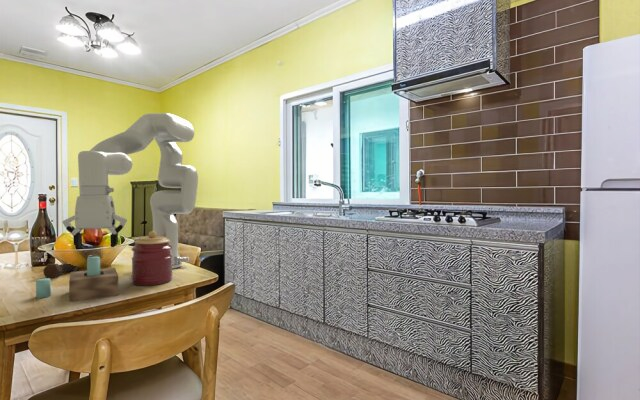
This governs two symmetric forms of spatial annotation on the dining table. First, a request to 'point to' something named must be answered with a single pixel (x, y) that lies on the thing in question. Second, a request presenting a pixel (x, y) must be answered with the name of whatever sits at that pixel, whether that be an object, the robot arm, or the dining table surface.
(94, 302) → the dining table surface
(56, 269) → the bolt
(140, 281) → the canister
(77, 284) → the socket block
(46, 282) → the short dowel
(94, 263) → the tall dowel
